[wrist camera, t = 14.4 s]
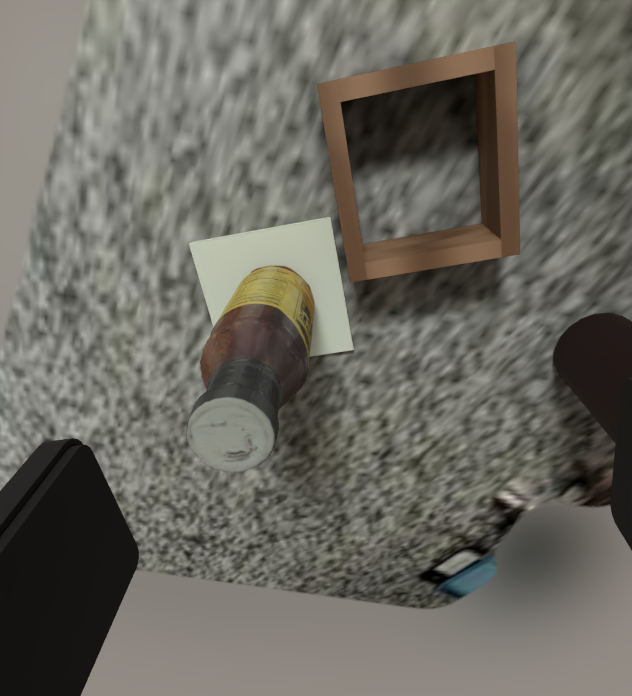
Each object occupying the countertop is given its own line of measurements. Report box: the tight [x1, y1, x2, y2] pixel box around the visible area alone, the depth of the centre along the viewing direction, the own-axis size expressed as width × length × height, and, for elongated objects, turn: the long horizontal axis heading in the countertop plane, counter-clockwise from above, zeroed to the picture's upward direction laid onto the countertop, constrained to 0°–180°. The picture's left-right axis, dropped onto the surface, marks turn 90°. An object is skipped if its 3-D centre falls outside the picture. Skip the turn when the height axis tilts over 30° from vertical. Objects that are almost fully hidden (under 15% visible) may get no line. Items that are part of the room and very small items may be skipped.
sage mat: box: [189, 217, 354, 356], centre depth 41 cm, size 11×11×1 cm
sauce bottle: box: [186, 265, 315, 472], centre depth 32 cm, size 7×6×20 cm
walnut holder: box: [317, 41, 520, 283], centre depth 34 cm, size 11×12×5 cm
